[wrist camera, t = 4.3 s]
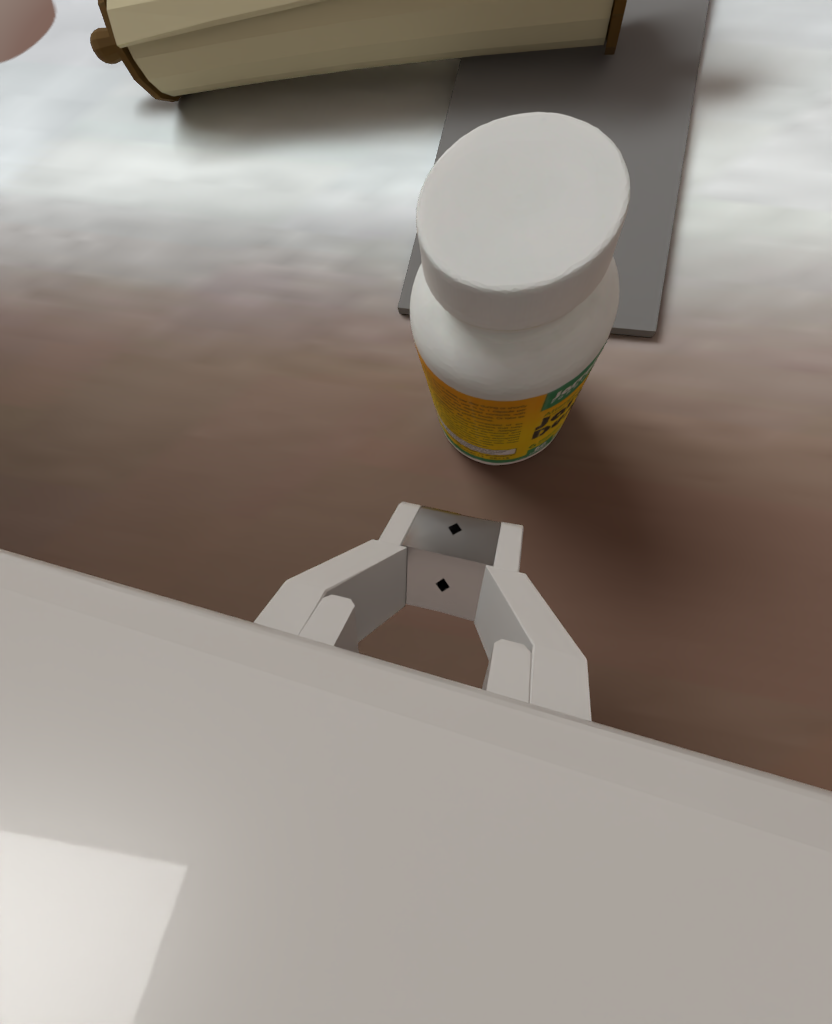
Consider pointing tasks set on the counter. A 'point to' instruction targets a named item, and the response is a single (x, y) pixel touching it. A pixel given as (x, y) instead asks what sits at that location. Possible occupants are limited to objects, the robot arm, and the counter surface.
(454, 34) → the rolling pin
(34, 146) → the counter surface
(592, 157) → the supplement bottle
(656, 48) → the mat
